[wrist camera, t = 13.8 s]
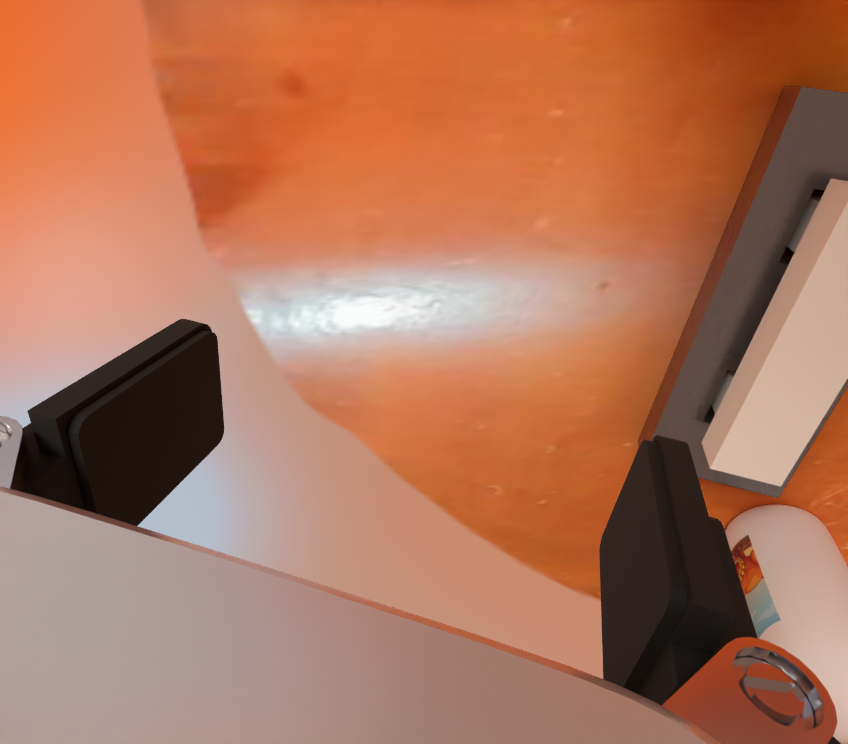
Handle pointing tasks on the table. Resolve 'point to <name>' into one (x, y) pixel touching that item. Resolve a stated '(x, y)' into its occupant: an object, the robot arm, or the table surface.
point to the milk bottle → (796, 592)
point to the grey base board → (751, 270)
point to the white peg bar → (789, 354)
